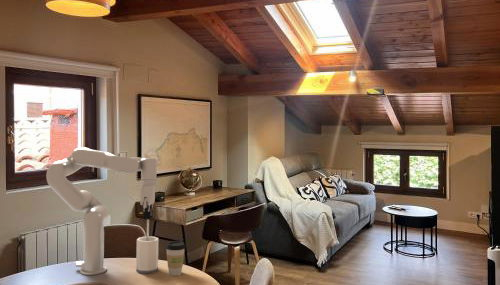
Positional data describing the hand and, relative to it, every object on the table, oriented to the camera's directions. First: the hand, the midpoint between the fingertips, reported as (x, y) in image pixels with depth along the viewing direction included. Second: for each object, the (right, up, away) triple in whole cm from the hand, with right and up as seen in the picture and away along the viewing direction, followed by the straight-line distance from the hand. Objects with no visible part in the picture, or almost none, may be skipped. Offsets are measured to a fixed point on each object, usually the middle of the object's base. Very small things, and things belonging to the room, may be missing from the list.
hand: (148, 217), depth 211 cm
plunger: (0, -14, 0) cm, 14 cm away
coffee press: (-1, -27, +1) cm, 27 cm away
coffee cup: (+14, -27, -3) cm, 31 cm away
